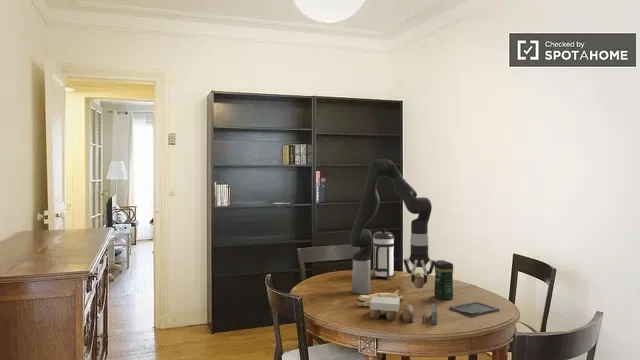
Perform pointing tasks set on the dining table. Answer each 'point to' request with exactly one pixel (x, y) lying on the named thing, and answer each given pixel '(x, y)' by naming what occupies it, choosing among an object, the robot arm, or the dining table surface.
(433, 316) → the block
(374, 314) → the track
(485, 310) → the picture frame
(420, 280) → the roller
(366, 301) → the cat figure
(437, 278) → the coffee jar
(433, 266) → the robot arm
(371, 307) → the slab
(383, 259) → the coffee press
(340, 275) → the dining table surface
